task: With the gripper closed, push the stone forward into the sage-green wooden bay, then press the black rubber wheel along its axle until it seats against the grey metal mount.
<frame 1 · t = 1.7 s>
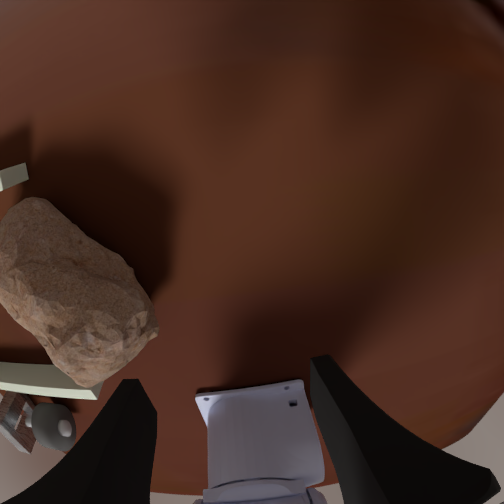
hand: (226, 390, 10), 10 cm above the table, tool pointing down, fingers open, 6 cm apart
axle mount: (27, 401, 24), on the table
bay: (0, 293, 18), on the table
wheel: (46, 425, 21), point 3 cm above the table, slide at 0.0 cm
stone: (79, 279, 19), on the table
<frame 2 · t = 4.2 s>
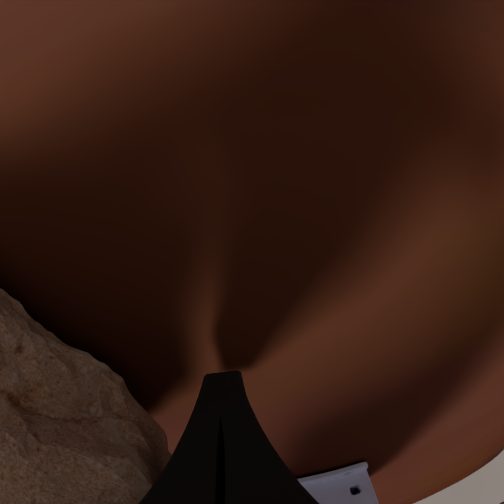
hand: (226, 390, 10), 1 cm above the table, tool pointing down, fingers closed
stone: (43, 372, 10), on the table, touching gripper
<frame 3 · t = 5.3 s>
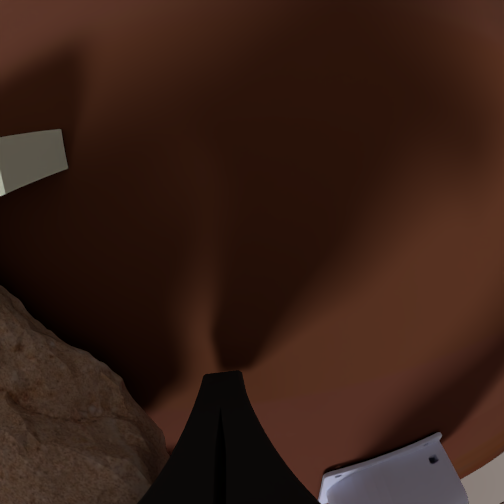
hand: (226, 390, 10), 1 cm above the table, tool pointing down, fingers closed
bay: (14, 374, 10), on the table
stone: (41, 369, 10), on the table, touching gripper
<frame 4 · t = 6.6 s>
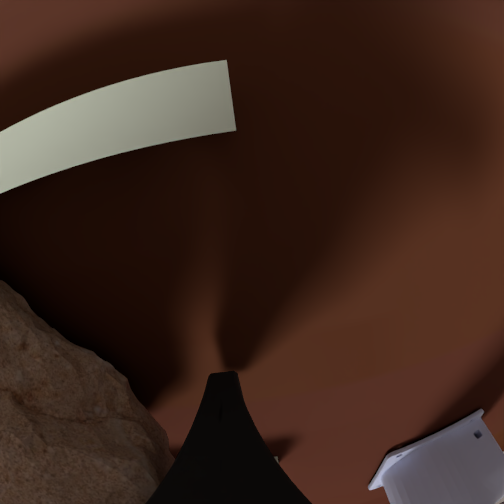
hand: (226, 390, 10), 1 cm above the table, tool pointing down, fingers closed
bay: (84, 378, 10), on the table
stone: (42, 368, 10), on the table, touching bay, gripper
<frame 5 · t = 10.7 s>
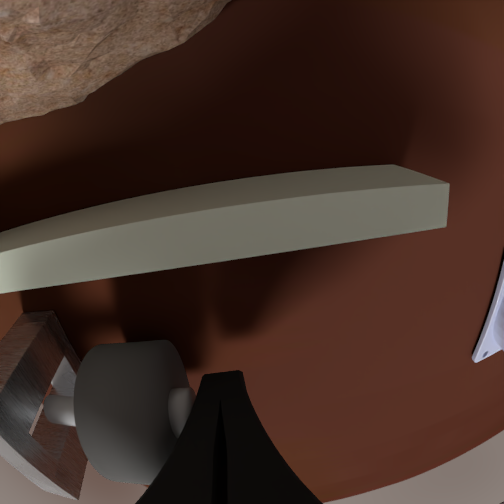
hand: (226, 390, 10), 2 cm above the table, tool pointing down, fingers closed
axle mount: (63, 360, 11), on the table
wheel: (114, 414, 9), point 3 cm above the table, slide at 1.1 cm, touching gripper
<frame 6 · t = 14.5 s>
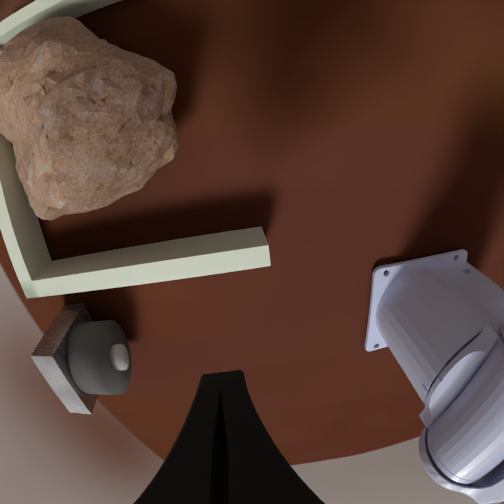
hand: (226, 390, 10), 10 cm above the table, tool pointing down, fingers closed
axle mount: (87, 333, 20), on the table
bay: (116, 118, 15), on the table
wheel: (87, 358, 18), point 3 cm above the table, slide at 3.5 cm
stone: (84, 123, 15), on the table
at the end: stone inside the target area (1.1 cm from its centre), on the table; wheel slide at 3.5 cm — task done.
